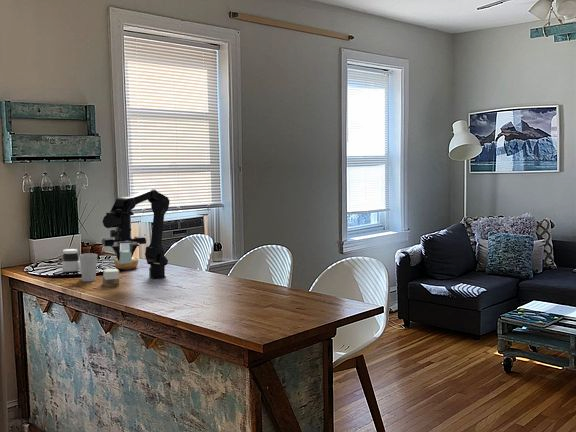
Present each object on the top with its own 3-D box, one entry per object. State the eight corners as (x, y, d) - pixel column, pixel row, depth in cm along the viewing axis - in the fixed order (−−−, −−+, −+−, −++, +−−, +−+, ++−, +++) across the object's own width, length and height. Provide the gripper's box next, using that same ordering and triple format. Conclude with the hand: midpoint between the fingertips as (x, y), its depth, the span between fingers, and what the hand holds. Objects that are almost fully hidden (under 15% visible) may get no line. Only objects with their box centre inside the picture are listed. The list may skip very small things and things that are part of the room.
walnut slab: (116, 283, 287) (115, 276, 287) (119, 286, 282) (119, 278, 282) (102, 284, 284) (102, 277, 284) (105, 287, 279) (105, 279, 279)
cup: (86, 282, 286) (86, 257, 285) (76, 280, 291) (75, 254, 290) (101, 279, 293) (100, 254, 291) (90, 277, 297) (90, 252, 296)
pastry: (109, 269, 316) (109, 252, 315) (122, 265, 328) (122, 248, 327) (130, 271, 313) (130, 254, 312) (142, 267, 324) (142, 250, 323)
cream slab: (116, 276, 287) (116, 268, 286) (119, 278, 281) (119, 271, 281) (103, 276, 284) (103, 269, 284) (105, 279, 279) (105, 272, 278)
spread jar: (61, 271, 309) (61, 248, 308) (85, 270, 314) (84, 247, 312) (63, 276, 298) (63, 252, 297) (88, 274, 303) (87, 251, 302)
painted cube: (128, 261, 283) (128, 250, 282) (131, 262, 279) (131, 251, 278) (117, 261, 280) (117, 251, 280) (120, 263, 276) (120, 252, 276)
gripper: (138, 222, 289) (138, 255, 291) (98, 224, 280) (98, 258, 281) (146, 225, 280) (146, 259, 282) (104, 227, 270) (105, 263, 272)
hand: (124, 260), depth 279 cm, fingers closed on painted cube, 5 cm apart
